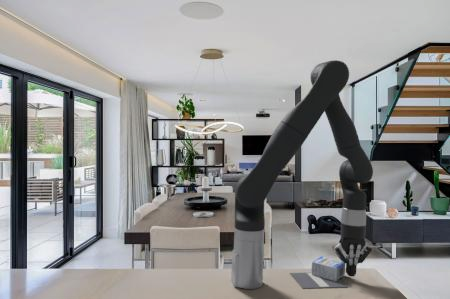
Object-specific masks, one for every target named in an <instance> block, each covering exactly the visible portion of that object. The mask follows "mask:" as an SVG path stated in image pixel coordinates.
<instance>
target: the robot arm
mask: <svg viewBox="0 0 450 299" xmlns="http://www.w3.org/2000/svg"><path fill="white" fill-rule="evenodd" d="M349 78H350V69H349V67H348V65H347V64H346V63H345V62H344V61H342V60H329V61H325V62H321V63H318V64H316V65H315V66H314V67H313V69H312V70H311V72H310V83H311V85H312V87H311V88H310V89H309V91H308V93H307V94H306V95H305V96H304V97H303V99H301V100H300V102H298V103H297V104H296V105H295V106H294V107H293V108H292V109H290V111H288V112H287V114H286V115H285V116H284V117H283V118H282V120H280V122H279V124H278V125H277V126H276V128H275V130H274V131H273V133H272V134H271V135H270V138H269V140H268V142H267V143H266V146H265V147H264V149H263V153H262V155H261V156H260V158H259V160H258V161H257V162H256V164H255V165H254V166H253V168H252V169H251V170H250V171H249V173H248V174H247V175H243V177H241V178H240V179H239V180H238V181H237V182H236V186H235V191H234V192H235V193H234V194H235V195H234V230H233V231H234V233H233V234H234V235H233V249H232V252H231V253H232V254H231V259H232V260H231V281H232V285H233V287H234V288H241V289H243V290H245V289H246V290H252V289H253V290H254V289H259V288H260V287H262V286H263V283H264V282H263V280H264V256H265V255H264V250H265V248H264V247H265V246H264V245H265V227H266V226H265V225H266V223H265V222H266V220H265V201H266V199H267V197H268V195H269V193H270V192H271V189H272V187H273V185H274V184H275V182H276V180H277V179H278V178H279V175H281V173H282V171H283V170H284V169H285V168H286V166H287V165H288V164H289V163H290V161H291V160H292V159H293V157H294V156H295V155H296V154H297V153H298V151H299V149H300V148H301V147H302V146H303V144H304V142H305V141H306V139H307V138H308V137H309V135H310V133H311V132H312V130H313V129H314V128H315V126H316V125H317V123H318V122H319V120H320V119H321V117H322V116H323V114H324V113H325V115H326V118H327V120H328V124H329V126H330V130H331V132H332V135H333V139H334V142H335V146H336V149H337V151H338V154H339V155H340V156H341V157H344V158H345V159H346V160H345V161H343V162H342V163H341V164H340V167H339V173H338V174H339V180H340V186H341V191H342V210H341V216H340V239H339V241H338V242H339V243H338V244H337V245H333V246H332V249H333V251H334V252H335V254H336V255H337V257H338V258H339V261H342V262H344V263H345V273H346V274H347V276H348V277H355V276H356V274H357V265H359V264H363V262H365V260H366V258H368V256H369V254H370V253H372V250H373V249H372V247H370V246H368V245H367V242H366V239H365V238H366V229H367V210H366V209H367V194H366V192H365V191H363V190H362V189H361V188H360V187H359V184H367V183H369V182H370V181H371V180H372V178H373V174H374V169H373V164H372V163H371V161H370V159H369V157H368V156H367V154H366V152H365V150H364V149H363V147H362V146H361V142H360V139H359V135H358V131H357V129H356V126H355V124H354V122H353V120H352V118H351V117H350V115H349V114H348V112H347V110H346V108H345V107H344V105H343V102H342V100H341V97H340V93H341V92H342V91H343V89H344V88H346V86H347V83H348V82H349ZM342 251H343V252H344V254H343V252H342Z"/></svg>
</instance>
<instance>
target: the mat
mask: <svg viewBox="0 0 450 299" xmlns="http://www.w3.org/2000/svg"><path fill="white" fill-rule="evenodd" d="M289 274H290V275H291V277H292V278H293V279H294V280H295V282H296V283H297V284H299V286H300V287H301V289H303V290H304V289H306V288H307V289H334V288H335V289H336V288H341V289H342V288H348V287H349V286H348V285H347V284H345V283H344V282H343V281H342V280H341V279H338V280H337V281H333V280H329V279H325V278H322V277H318V276H315V275H312V272H290V273H289Z"/></svg>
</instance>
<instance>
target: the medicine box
mask: <svg viewBox="0 0 450 299" xmlns="http://www.w3.org/2000/svg"><path fill="white" fill-rule="evenodd" d="M311 273H312V275H315V276H318V277H322V278H325V279H329V280H333V281H337V280H338V279H339V280H341V278H342V277H344V276H345V275H346V274H345V273H346V263H344V262H343V261H341V260H337V259H333V258H330V257H325V256H319V257H318V258H316V259H314V260H313V261H312V262H311Z"/></svg>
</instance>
